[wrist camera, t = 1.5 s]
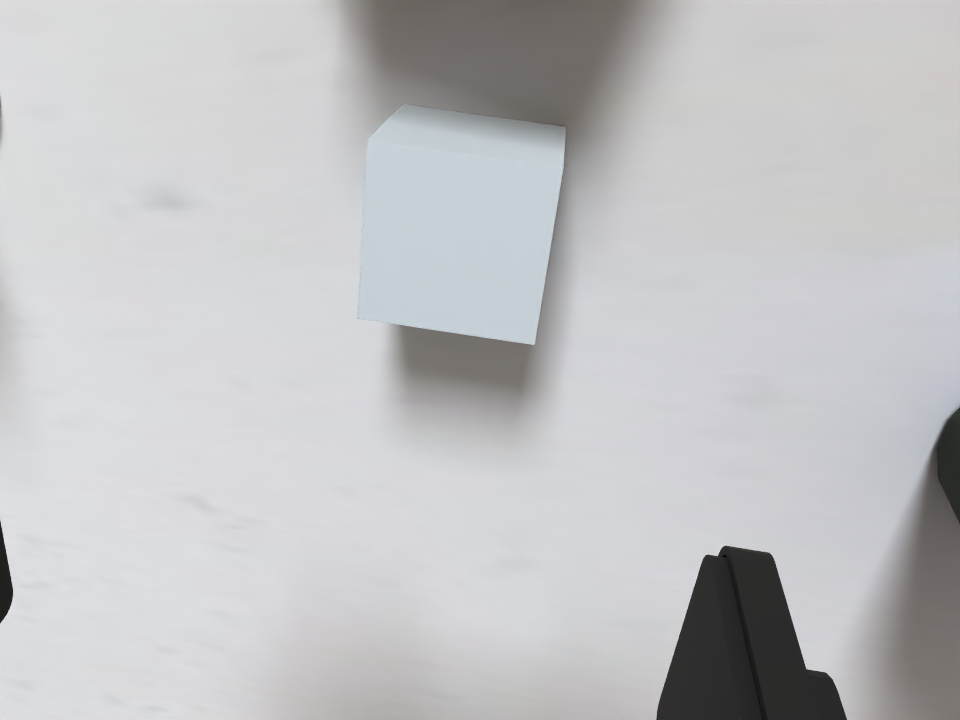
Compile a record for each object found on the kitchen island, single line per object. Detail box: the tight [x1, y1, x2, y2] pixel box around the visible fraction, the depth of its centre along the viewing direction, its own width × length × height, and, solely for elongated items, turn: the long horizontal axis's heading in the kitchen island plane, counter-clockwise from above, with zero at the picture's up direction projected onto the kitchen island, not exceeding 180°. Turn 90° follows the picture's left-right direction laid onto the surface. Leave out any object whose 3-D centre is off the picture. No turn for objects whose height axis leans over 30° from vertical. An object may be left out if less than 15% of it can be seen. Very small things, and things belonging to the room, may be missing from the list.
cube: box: [358, 104, 566, 345], centre depth 25 cm, size 5×5×5 cm
